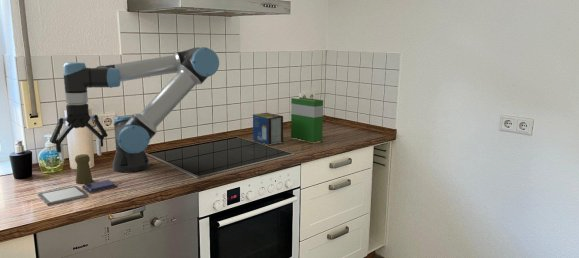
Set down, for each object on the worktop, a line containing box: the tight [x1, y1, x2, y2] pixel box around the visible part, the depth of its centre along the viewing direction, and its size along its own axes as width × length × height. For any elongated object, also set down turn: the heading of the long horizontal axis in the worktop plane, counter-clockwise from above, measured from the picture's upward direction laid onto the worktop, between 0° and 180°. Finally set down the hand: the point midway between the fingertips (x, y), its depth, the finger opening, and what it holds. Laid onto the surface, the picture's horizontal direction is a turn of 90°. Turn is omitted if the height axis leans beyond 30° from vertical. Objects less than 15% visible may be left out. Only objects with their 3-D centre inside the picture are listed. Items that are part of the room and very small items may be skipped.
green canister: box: [290, 96, 324, 142], centre depth 239 cm, size 18×7×24 cm, turn 45°
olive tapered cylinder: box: [74, 153, 94, 185], centre depth 164 cm, size 6×6×11 cm
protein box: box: [252, 112, 284, 146], centre depth 235 cm, size 10×15×16 cm
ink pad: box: [81, 179, 118, 194], centre depth 158 cm, size 10×8×1 cm
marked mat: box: [37, 185, 89, 206], centre depth 149 cm, size 13×13×1 cm
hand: (81, 157), depth 163 cm, fingers open, 13 cm apart
